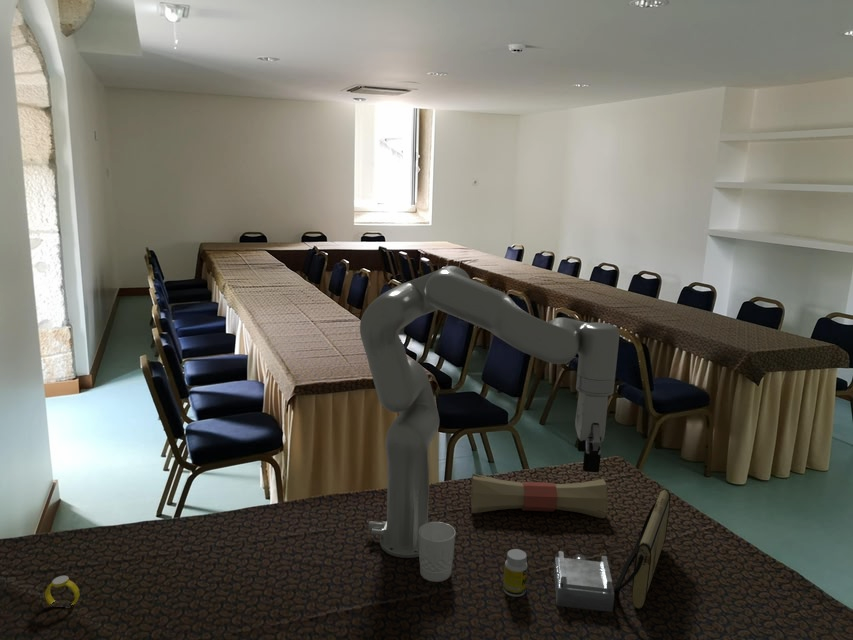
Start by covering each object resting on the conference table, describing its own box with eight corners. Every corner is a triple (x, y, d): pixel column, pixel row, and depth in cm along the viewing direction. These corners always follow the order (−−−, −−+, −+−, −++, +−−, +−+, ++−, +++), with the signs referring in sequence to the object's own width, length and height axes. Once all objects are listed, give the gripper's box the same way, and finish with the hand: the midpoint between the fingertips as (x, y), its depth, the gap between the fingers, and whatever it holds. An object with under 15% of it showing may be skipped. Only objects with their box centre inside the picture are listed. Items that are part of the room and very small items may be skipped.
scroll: (609, 521, 161) (608, 480, 162) (472, 516, 161) (473, 474, 163) (598, 516, 171) (598, 477, 173) (470, 511, 172) (471, 472, 173)
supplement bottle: (525, 599, 133) (527, 562, 131) (502, 595, 134) (504, 559, 132) (526, 585, 138) (529, 549, 136) (504, 581, 138) (506, 546, 137)
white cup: (422, 586, 136) (424, 543, 134) (413, 564, 143) (414, 523, 141) (458, 581, 138) (460, 538, 136) (447, 560, 146) (449, 519, 143)
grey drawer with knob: (556, 605, 131) (558, 578, 130) (553, 565, 145) (555, 540, 143) (612, 612, 130) (615, 585, 129) (603, 570, 143) (606, 545, 142)
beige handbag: (635, 537, 157) (642, 480, 154) (665, 545, 154) (673, 487, 151) (606, 606, 132) (614, 540, 128) (642, 618, 129) (650, 550, 125)
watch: (45, 612, 125) (39, 584, 124) (53, 602, 128) (47, 576, 127) (76, 610, 125) (71, 583, 124) (83, 601, 128) (78, 574, 127)
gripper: (572, 369, 141) (565, 443, 145) (581, 396, 125) (573, 478, 129) (607, 372, 141) (600, 445, 145) (621, 399, 124) (612, 481, 128)
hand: (587, 461), depth 137 cm, fingers open, 9 cm apart
